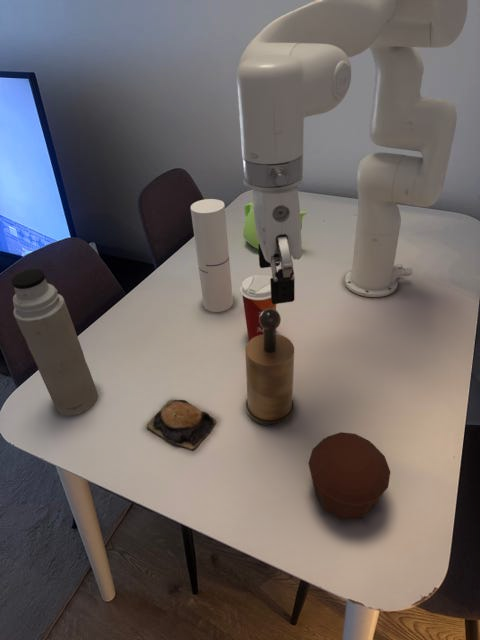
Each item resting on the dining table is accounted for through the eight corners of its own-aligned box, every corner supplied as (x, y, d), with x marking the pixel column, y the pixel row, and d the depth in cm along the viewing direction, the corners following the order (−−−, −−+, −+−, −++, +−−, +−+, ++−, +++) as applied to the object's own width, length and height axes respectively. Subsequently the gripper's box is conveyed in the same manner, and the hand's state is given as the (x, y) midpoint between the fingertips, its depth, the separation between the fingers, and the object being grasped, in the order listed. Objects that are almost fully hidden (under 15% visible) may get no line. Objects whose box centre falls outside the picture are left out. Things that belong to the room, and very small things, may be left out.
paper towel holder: (287, 387, 88) (291, 292, 75) (298, 422, 81) (304, 324, 68) (243, 393, 87) (238, 298, 74) (249, 428, 80) (246, 330, 67)
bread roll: (143, 430, 82) (139, 416, 79) (173, 399, 87) (170, 385, 85) (191, 454, 77) (188, 440, 75) (219, 420, 82) (217, 406, 80)
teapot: (321, 244, 131) (323, 200, 124) (290, 266, 123) (290, 221, 115) (261, 225, 144) (259, 184, 136) (229, 244, 135) (225, 201, 127)
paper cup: (268, 353, 96) (266, 298, 87) (237, 342, 99) (232, 288, 91) (285, 332, 101) (285, 278, 92) (255, 322, 104) (252, 269, 96)
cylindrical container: (229, 313, 108) (220, 213, 93) (200, 311, 109) (186, 212, 94) (235, 295, 113) (227, 199, 98) (207, 294, 115) (195, 198, 100)
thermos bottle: (51, 418, 85) (-8, 292, 68) (60, 387, 92) (8, 265, 75) (94, 413, 86) (46, 287, 69) (100, 382, 92) (58, 260, 75)
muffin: (302, 463, 74) (303, 422, 68) (370, 457, 74) (377, 415, 68) (316, 535, 65) (319, 494, 59) (394, 527, 65) (405, 486, 59)
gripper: (320, 191, 51) (316, 314, 62) (287, 144, 65) (288, 251, 75) (254, 200, 51) (261, 321, 61) (234, 151, 64) (242, 257, 75)
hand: (275, 283), depth 68 cm, fingers open, 9 cm apart
